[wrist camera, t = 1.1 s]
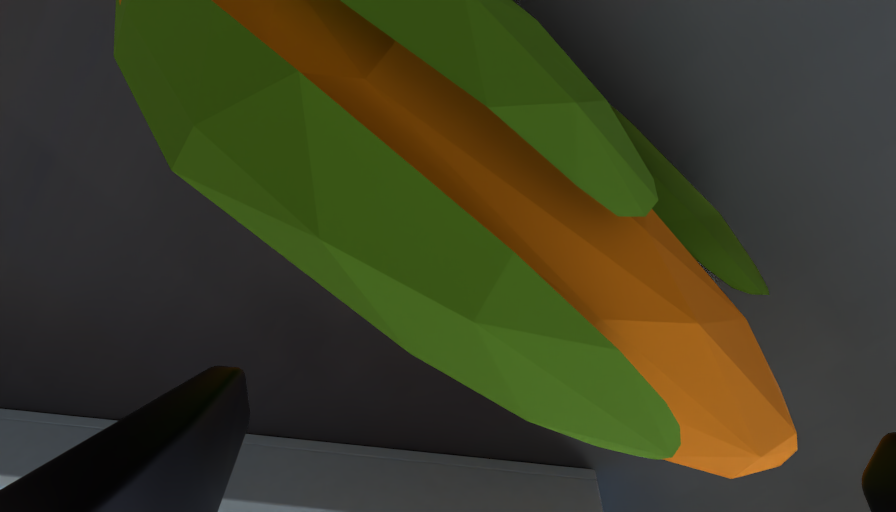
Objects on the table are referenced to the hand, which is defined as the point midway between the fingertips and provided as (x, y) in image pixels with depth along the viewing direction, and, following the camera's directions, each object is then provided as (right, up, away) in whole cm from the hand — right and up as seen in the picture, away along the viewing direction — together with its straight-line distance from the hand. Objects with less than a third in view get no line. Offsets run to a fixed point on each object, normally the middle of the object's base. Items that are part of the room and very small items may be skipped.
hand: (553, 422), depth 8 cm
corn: (+1, +5, +9) cm, 10 cm away
